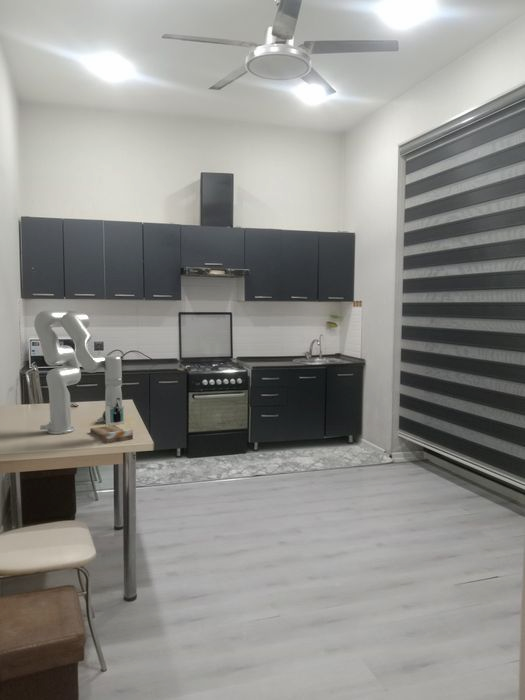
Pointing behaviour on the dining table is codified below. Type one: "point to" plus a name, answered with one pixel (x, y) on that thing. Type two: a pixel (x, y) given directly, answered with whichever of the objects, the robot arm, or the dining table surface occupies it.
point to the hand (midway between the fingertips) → (114, 420)
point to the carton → (109, 415)
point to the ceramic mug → (102, 418)
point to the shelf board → (112, 433)
